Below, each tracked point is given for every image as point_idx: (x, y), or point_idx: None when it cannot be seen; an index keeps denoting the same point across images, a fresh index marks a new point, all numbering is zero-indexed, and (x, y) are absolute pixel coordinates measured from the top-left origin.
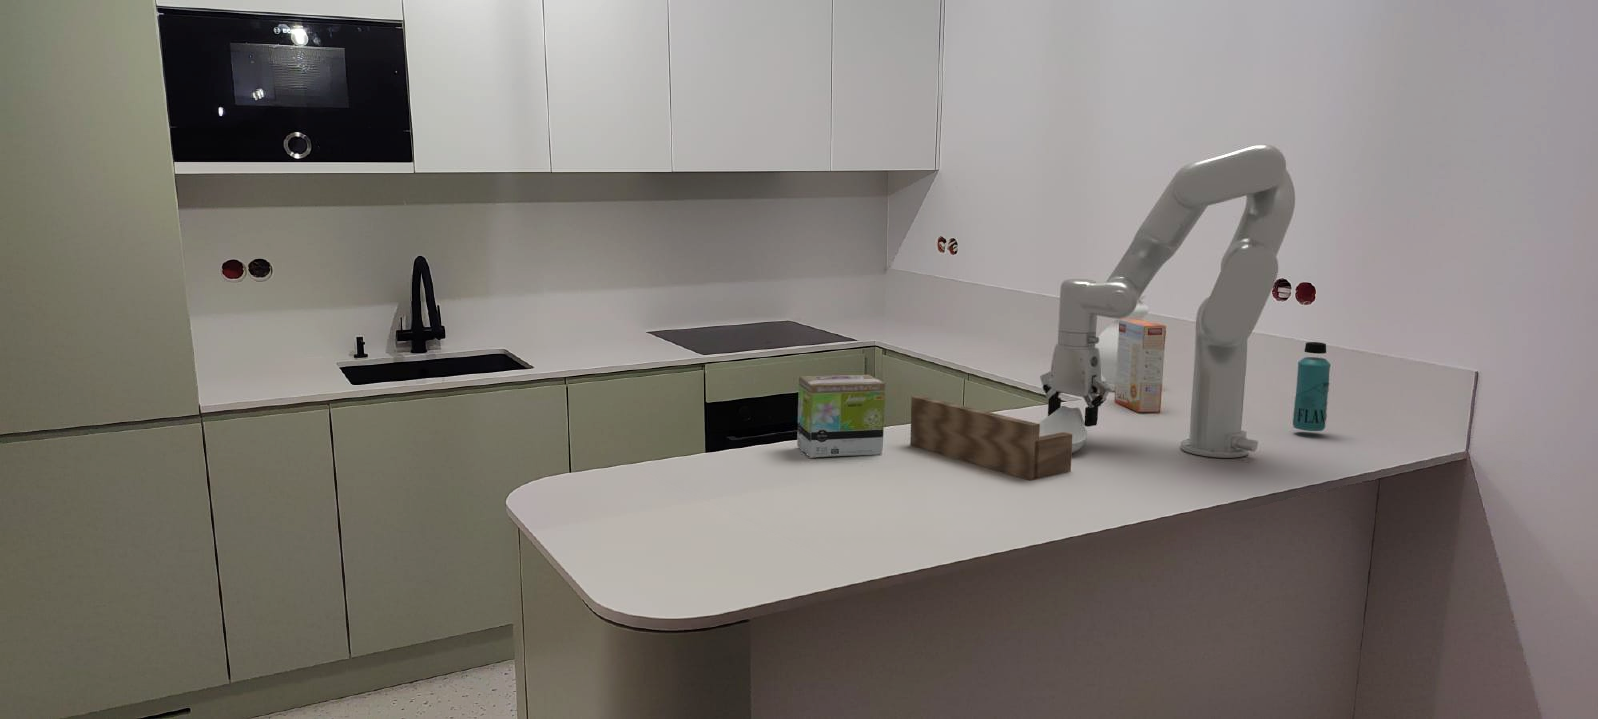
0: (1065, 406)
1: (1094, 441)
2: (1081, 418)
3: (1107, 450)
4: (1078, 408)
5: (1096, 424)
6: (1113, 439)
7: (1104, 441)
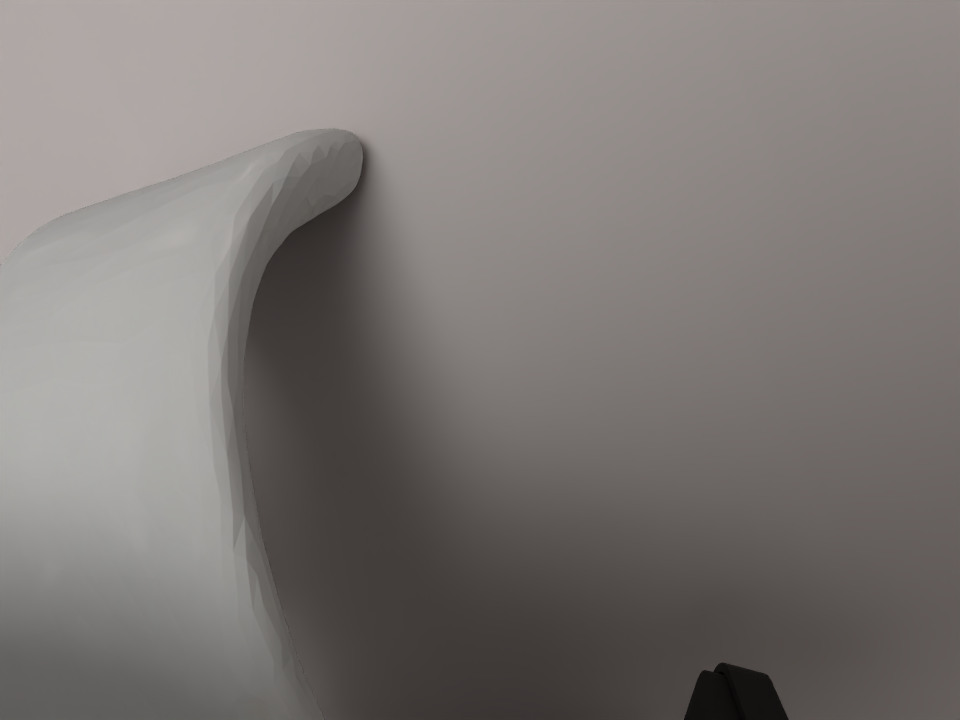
0: (12, 707)
1: (625, 396)
2: (273, 246)
3: (921, 687)
4: (288, 683)
5: (762, 680)
6: (770, 127)
7: (721, 315)
